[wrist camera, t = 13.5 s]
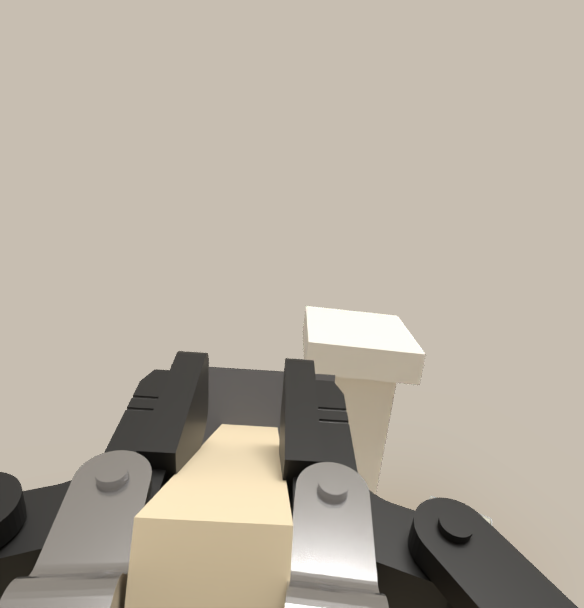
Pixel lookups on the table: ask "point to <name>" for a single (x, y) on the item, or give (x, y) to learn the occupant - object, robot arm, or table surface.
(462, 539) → the robot arm
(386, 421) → the pale stand
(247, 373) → the rubber mallet
